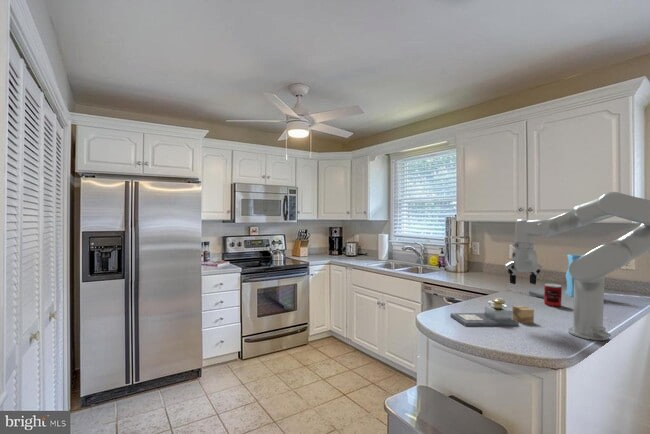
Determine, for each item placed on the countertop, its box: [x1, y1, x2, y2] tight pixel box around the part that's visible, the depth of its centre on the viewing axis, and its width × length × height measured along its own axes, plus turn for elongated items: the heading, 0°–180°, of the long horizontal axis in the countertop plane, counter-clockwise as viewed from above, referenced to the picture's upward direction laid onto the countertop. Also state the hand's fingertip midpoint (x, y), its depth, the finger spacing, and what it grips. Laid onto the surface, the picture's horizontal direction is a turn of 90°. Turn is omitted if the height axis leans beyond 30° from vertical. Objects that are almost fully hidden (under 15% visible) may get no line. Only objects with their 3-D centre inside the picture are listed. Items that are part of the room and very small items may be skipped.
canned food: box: [543, 283, 563, 308], centre depth 180 cm, size 8×8×11 cm
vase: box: [565, 254, 584, 298], centre depth 202 cm, size 10×10×25 cm
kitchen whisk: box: [504, 281, 544, 299], centre depth 203 cm, size 6×33×6 cm, turn 25°
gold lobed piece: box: [491, 298, 506, 310], centre depth 150 cm, size 5×5×5 cm
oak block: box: [511, 305, 535, 324], centre depth 151 cm, size 6×6×6 cm
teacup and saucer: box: [487, 297, 508, 308], centre depth 178 cm, size 9×8×4 cm
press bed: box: [450, 305, 520, 327], centre depth 150 cm, size 14×24×6 cm, turn 95°
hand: (522, 283), depth 152 cm, fingers open, 9 cm apart
